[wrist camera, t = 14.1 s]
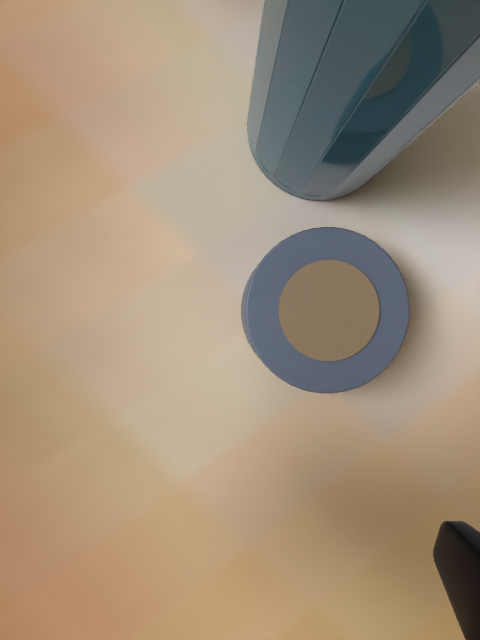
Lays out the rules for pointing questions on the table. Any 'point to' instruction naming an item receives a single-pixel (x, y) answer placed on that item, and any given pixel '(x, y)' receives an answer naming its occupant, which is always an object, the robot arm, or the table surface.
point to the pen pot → (354, 85)
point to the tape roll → (326, 310)
